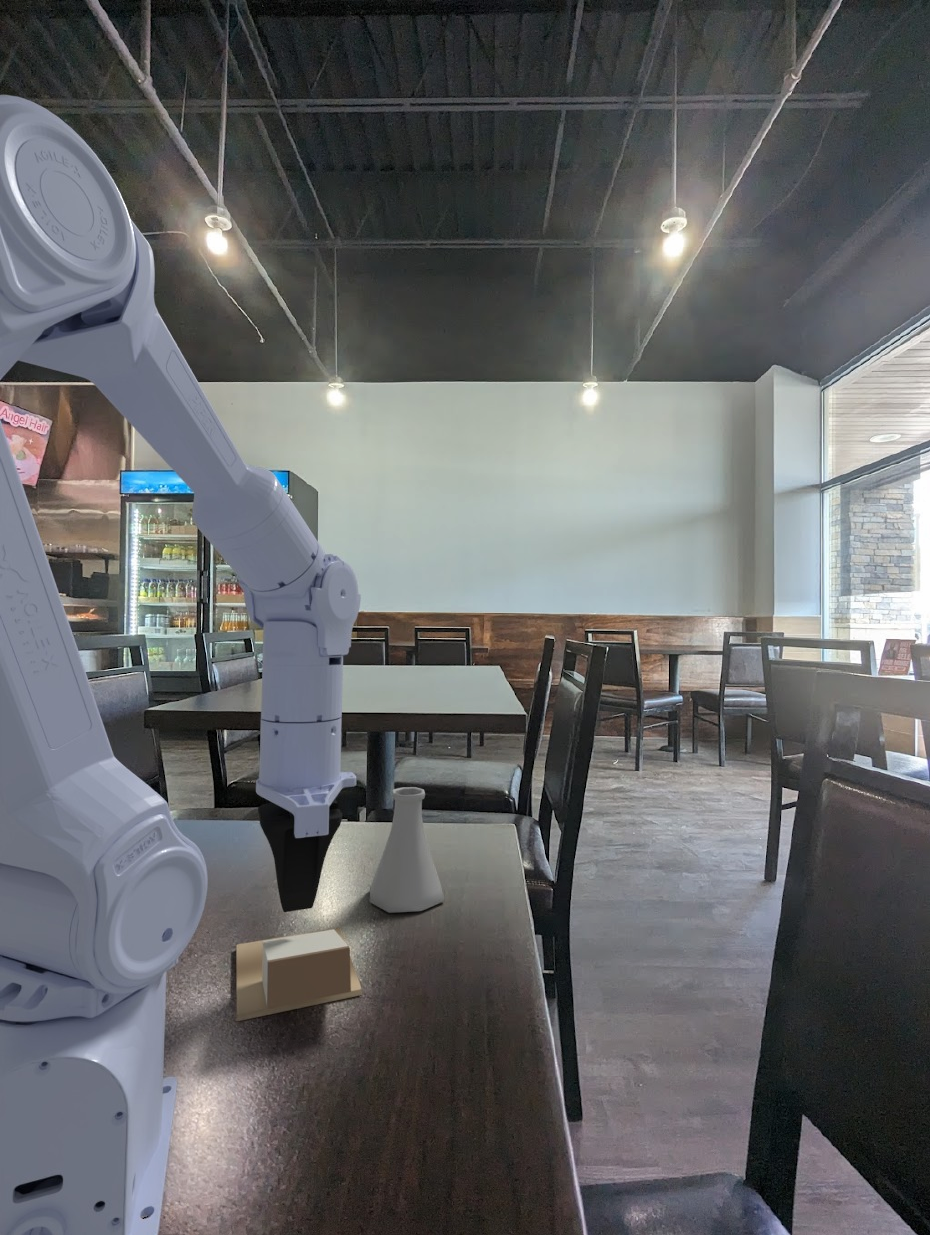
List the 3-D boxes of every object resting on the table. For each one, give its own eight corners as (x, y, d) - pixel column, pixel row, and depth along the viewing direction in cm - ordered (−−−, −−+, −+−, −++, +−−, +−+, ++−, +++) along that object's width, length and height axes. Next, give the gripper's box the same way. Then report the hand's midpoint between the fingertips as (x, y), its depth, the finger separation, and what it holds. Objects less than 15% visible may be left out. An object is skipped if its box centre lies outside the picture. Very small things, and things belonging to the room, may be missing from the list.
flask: (358, 889, 57) (360, 785, 57) (426, 876, 60) (428, 778, 60) (382, 922, 50) (384, 805, 51) (457, 906, 54) (459, 796, 54)
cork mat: (361, 994, 40) (361, 989, 40) (236, 1021, 37) (236, 1015, 37) (339, 932, 48) (339, 927, 48) (236, 949, 45) (236, 944, 46)
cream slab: (334, 967, 43) (350, 991, 37) (262, 981, 41) (267, 1008, 35) (333, 929, 43) (349, 947, 38) (262, 941, 42) (267, 962, 36)
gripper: (378, 730, 37) (374, 945, 37) (340, 704, 51) (336, 862, 50) (262, 735, 35) (256, 967, 34) (254, 707, 48) (249, 873, 48)
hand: (297, 906), depth 42 cm, fingers closed
